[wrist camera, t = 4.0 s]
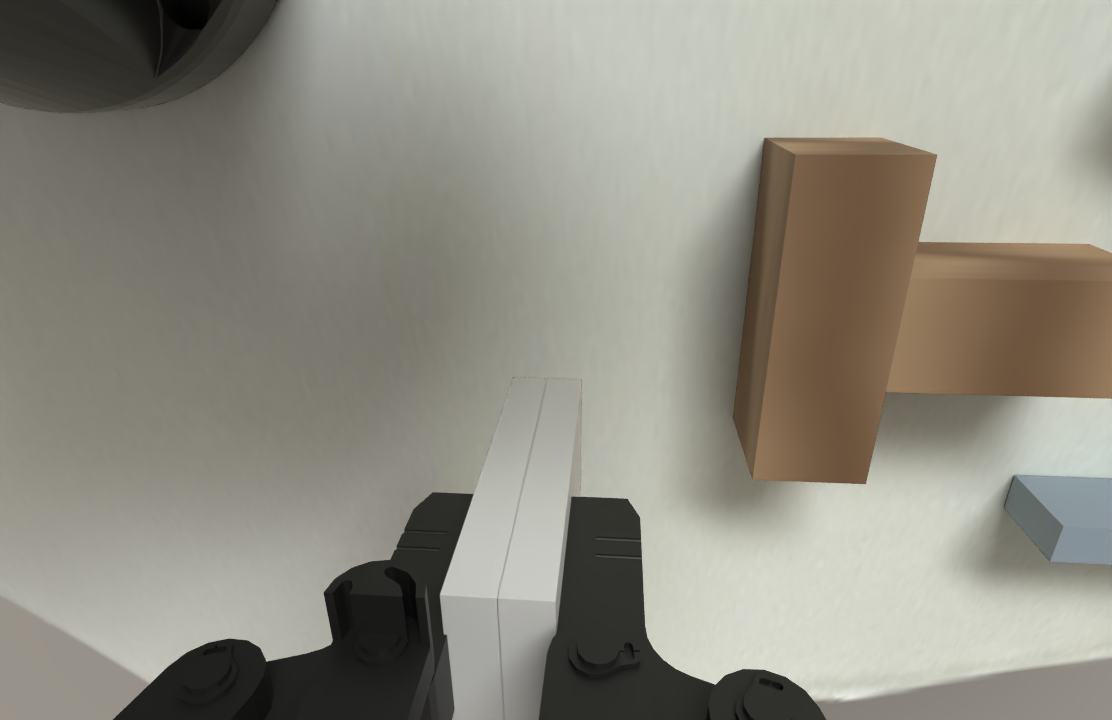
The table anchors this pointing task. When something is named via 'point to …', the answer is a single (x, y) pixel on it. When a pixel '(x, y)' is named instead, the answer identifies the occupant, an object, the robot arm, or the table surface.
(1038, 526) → the dock
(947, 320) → the t block
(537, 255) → the table surface
